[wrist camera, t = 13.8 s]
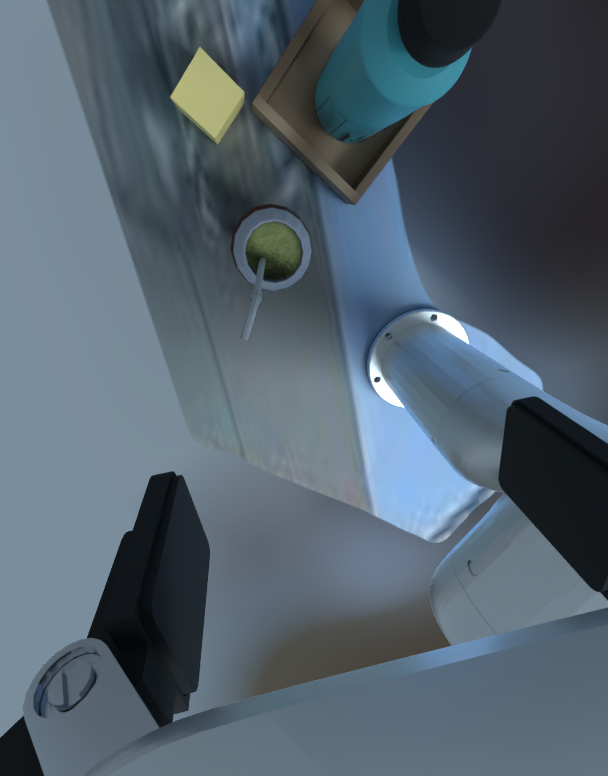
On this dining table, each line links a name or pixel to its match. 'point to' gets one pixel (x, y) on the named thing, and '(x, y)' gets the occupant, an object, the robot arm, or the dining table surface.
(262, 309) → the dining table surface
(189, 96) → the pale yellow cube
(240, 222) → the mate gourd
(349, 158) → the tray
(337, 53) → the beverage bottle
